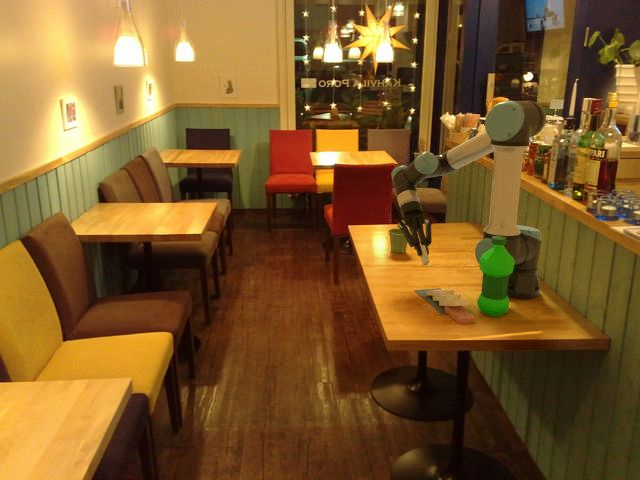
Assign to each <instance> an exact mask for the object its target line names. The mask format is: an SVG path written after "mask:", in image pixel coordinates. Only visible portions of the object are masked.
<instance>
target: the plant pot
mask: <svg viewBox="0 0 640 480" xmlns="http://www.w3.org/2000/svg"><path fill="white" fill-rule="evenodd" d="M387 232H388V235H389V244H390V252H392V253H395V254H403V253H404V254H405V253H407V249H408V247H407V246H408V242H407V240H406V238H405V236H404V234H403V232H402V230H401V229H400V228H398V227H396V228H390V229H388V230H387ZM409 232H410V230H409ZM410 233H411V232H410Z"/></svg>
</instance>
